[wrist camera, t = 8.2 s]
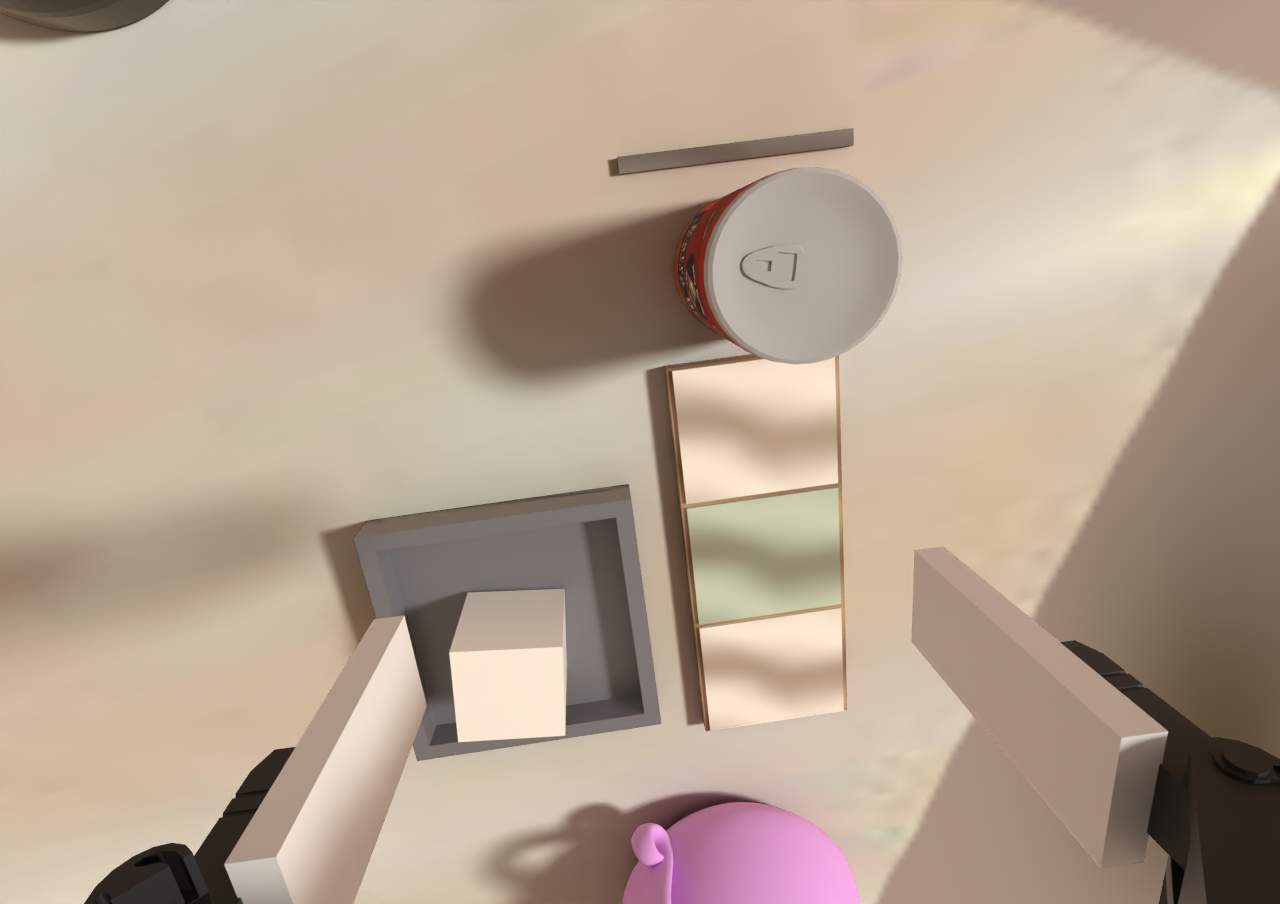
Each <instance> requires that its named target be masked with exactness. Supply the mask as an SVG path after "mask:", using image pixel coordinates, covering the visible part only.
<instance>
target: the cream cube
mask: <svg viewBox="0 0 1280 904" xmlns="http://www.w3.org/2000/svg"><path fill="white" fill-rule="evenodd" d="M449 655H450V665H451V675H452V685H453V695H454V705H455V715H456V725H457V735H458V742H470V741H486V740H503V739H519V738H536V737H552V736H565V729H566V684H567V656H566V620H565V589H544V590H517V591H491V592H468V593H467V596H466V600H465V603H464V606H463V609H462V613H461V616H460V619H459V622H458V626H457V629H456V632H455V635H454V639H453V642H452V645H451V648H450V652H449Z"/></svg>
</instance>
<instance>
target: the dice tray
mask: <svg viewBox="0 0 1280 904" xmlns="http://www.w3.org/2000/svg"><path fill="white" fill-rule="evenodd" d="M353 539H354V543H355V546H356V550H357V553H358V557H359V560H360V564H361V567H362V571H363V574H364V577H365V581H366V584H367V588H368V591H369V595H370V598H371V602H372V605H373V609H374V612H375V616H376V619H381V618H388V617H396V616H405V620H406V624H407V628H408V632H409V636H410V640H411V644H412V648H413V652H414V656H415V660H416V664H417V668H418V672H419V676H420V680H421V684H422V688H423V692H424V696H425V700H426V704H427V707H426V710H425V713H424V715H423V718H422V721H421V723H420V726H419V729H418V731H417V734H416V737H415V739H414V742H413V748H414V751H415V755H416V758H417V761H420V760H427V759H433V758H440V757H447V756H453V755H460V754H466V753H473V752H480V751H486V750H493V749H499V748H506V747H512V746H519V745H526V744H532V743H539V742H545V741H552V740H559V739H565V738H572V737H578V736H585V735H592V734H598V733H605V732H611V731H618V730H625V729H631V728H638V727H644V726H651V725H657V724H661V718H660V711H659V703H658V696H657V689H656V681H655V674H654V666H653V659H652V651H651V644H650V637H649V629H648V622H647V614H646V607H645V600H644V592H643V585H642V577H641V570H640V563H639V555H638V548H637V540H636V533H635V525H634V518H633V511H632V503H631V496H630V490H629V484H627V485H620V486H613V487H606V488H599V489H591V490H584V491H577V492H570V493H563V494H555V495H548V496H541V497H534V498H527V499H519V500H512V501H505V502H498V503H491V504H484V505H476V506H469V507H462V508H455V509H448V510H440V511H433V512H426V513H419V514H412V515H404V516H397V517H390V518H383V519H376V520H368V521H367V523H366V524H365V525H364V526H363V527H362V528H361V530H360V531H359V532H358V533H357V534H356V535H355V537H354V538H353ZM544 589H565V620H566V656H567V684H566V729H565V736H552V737H536V738H519V739H503V740H486V741H470V742H458V735H457V725H456V715H455V705H454V695H453V685H452V675H451V665H450V655H449V652H450V648H451V645H452V642H453V639H454V635H455V632H456V629H457V626H458V622H459V619H460V616H461V613H462V609H463V606H464V603H465V600H466V596H467V593H468V592H491V591H517V590H544Z"/></svg>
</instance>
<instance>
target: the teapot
mask: <svg viewBox="0 0 1280 904" xmlns="http://www.w3.org/2000/svg"><path fill="white" fill-rule="evenodd" d="M631 845H632V848H633V851H634V853H635V855H636V857H637V858H638V859H639V861H638V863H637V864H636V866H635V867H634V869H633V871H632V873H631V875H630V877H629V879H628V882H627V885H626V888H625V892H624V896H623V899H622V904H860V899H859V895H858V891H857V887H856V883H855V880H854V877H853V874H852V872H851V869H850V866H849V864H848V862H847V860H846V858H845V856H844V854H843V853H842V851H841V850H840V849H839V847H838V846H837V845H836V844H835V843H834V841H833V840H832V839H831V838H830V837H829V836H828V835H827V834H826V833H825V832H823V831H822V830H821V829H820V828H818V827H817V826H815V825H814V824H813V823H811V822H809V821H807V820H805V819H803V818H801V817H799V816H797V815H795V814H793V813H791V812H788V811H785V810H782V809H780V808H777V807H773V806H770V805H765V804H761V803H753V802H733V803H724V804H719V805H714V806H711V807H707V808H704V809H701V810H699V811H697V812H694V813H692V814H690V815H688V816H686V817H684V818H683V819H681V820H679V821H678V822H676V823H675V824H674V825H672V826H671V827H670V828H669V829H667V830H666V831H665V830H664V828H662V827H661V826H660V825H658V824H655V823H646V824H642V825H640V826H639V827H638V828H637V829H636V830H635V832H634V834H633V836H632V838H631Z"/></svg>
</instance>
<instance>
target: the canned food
mask: <svg viewBox="0 0 1280 904" xmlns="http://www.w3.org/2000/svg"><path fill="white" fill-rule="evenodd" d="M901 264H902V252H901V244H900V237H899V234H898V231H897V228H896V225H895V222H894V219H893V217H892V216H891V214H890V212H889V211H888V209H887V207H886V205H885V204H884V202H883V201H882V200H881V199H880V198H879V197H878V196H877V195H876V194H875V193H874V192H873V190H872V189H870V188H869V187H868V186H866V185H865V184H863V183H862V182H860V181H859V180H857V179H856V178H854V177H851V176H849V175H847V174H844V173H842V172H839V171H836V170H830V169H824V168H819V167H816V168H793V169H789V170H785V171H781V172H777V173H773V174H771V175H769V176H766V177H764V178H761V179H759V180H757V181H755V182H753V183H751V184H749V185H747V186H745V187H743V188H741V189H738V190H736V191H734V192H732V193H730V194H728V195H726V196H724V197H722V198H720V199H718V200H716V201H714V202H712V203H710V204H709V205H708V206H706V207H705V208H704V209H702V210H701V211H700V212H699V213H698V214H697V215H696V216H695V217H694V218H693V219H692V220H691V222H690V223H689V224H688V226H687V228H686V229H685V231H684V232H683V234H682V236H681V239H680V242H679V244H678V247H677V251H676V257H675V279H676V283H677V288H678V291H679V294H680V296H681V298H682V300H683V302H684V304H685V305H686V307H687V308H688V309H689V311H690V312H691V314H692V315H693V316H695V317H696V318H697V319H698V320H699V321H700V322H701V323H702V324H704V325H705V326H707V327H709V328H710V329H712V330H713V331H715V332H717V333H718V334H720V335H721V336H723V337H724V338H726V339H728V340H729V341H731V342H732V343H734V344H736V345H737V346H739V347H741V348H742V349H744V350H746V351H747V352H749V353H752V354H753V355H755V356H758V357H761V358H764V359H767V360H770V361H773V362H780V363H787V364H810V363H816V362H820V361H824V360H828V359H831V358H833V357H836V356H838V355H840V354H842V353H844V352H847V351H848V350H850V349H851V348H853V347H854V346H856V345H857V344H858V343H860V342H861V341H863V340H864V339H865V338H866V337H867V336H868V335H869V334H870V333H871V332H872V331H873V330H874V329H875V328H876V327H877V326H878V324H879V323H880V321H881V320H882V319H883V317H884V316H885V314H886V313H887V311H888V309H889V307H890V305H891V303H892V301H893V299H894V297H895V294H896V291H897V287H898V284H899V280H900V276H901Z"/></svg>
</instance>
